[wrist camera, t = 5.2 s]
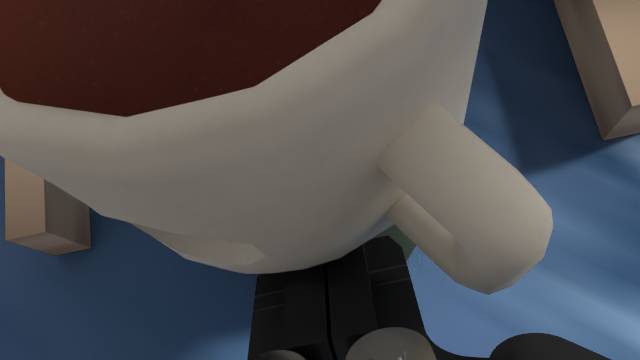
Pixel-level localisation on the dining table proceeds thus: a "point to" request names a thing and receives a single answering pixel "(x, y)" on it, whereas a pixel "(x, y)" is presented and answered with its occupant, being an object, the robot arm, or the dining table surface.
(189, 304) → the dining table surface
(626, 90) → the oak dock
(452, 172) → the character mug
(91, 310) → the dining table surface
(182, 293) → the dining table surface
